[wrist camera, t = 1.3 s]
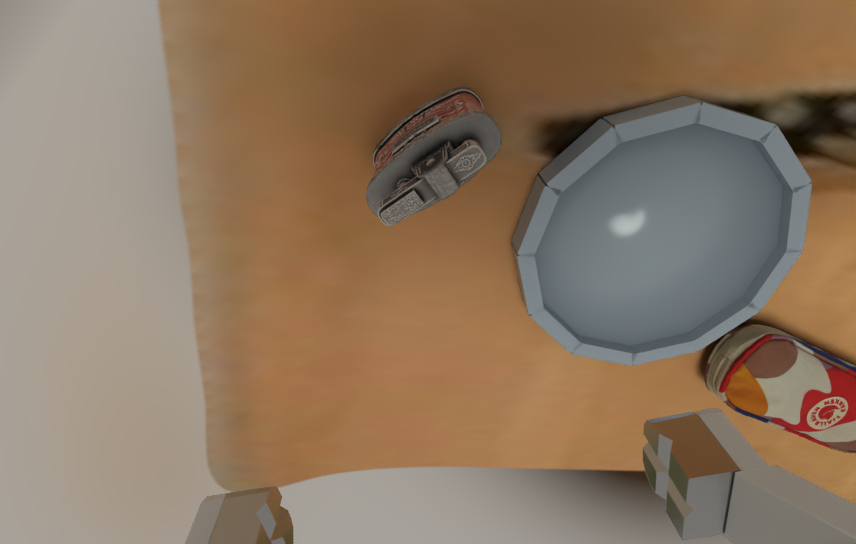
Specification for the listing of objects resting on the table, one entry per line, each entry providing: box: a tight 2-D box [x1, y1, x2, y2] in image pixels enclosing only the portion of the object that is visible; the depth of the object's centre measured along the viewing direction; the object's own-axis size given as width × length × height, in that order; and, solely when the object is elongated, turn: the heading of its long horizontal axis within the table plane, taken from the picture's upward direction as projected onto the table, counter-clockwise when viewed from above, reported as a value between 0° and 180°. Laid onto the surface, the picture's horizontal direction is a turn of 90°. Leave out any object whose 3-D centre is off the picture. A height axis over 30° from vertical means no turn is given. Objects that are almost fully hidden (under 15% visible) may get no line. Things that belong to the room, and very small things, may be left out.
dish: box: [511, 95, 812, 366], centre depth 37 cm, size 20×20×2 cm
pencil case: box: [704, 324, 856, 453], centre depth 43 cm, size 11×20×5 cm, turn 49°
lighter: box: [366, 87, 501, 226], centre depth 29 cm, size 8×3×10 cm, turn 125°
